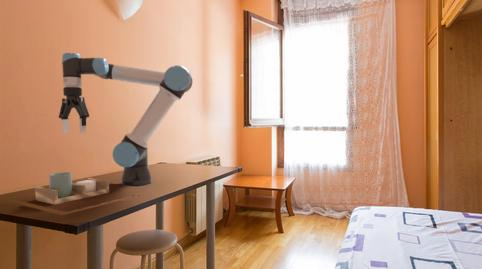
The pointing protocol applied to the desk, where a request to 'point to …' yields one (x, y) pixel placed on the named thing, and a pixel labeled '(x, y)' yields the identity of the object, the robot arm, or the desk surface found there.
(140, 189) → the desk surface
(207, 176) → the desk surface
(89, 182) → the white rounded piece
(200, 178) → the desk surface
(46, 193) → the rack
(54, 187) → the cup
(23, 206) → the desk surface
